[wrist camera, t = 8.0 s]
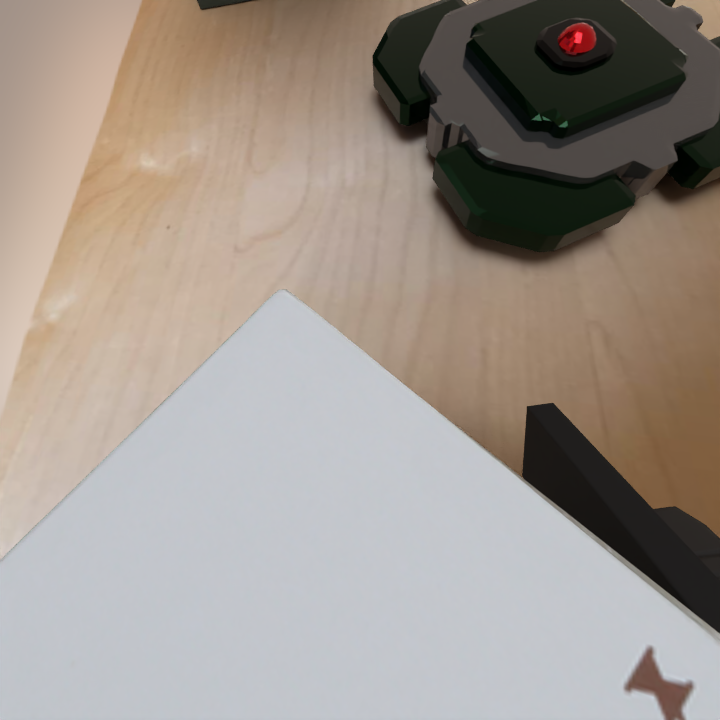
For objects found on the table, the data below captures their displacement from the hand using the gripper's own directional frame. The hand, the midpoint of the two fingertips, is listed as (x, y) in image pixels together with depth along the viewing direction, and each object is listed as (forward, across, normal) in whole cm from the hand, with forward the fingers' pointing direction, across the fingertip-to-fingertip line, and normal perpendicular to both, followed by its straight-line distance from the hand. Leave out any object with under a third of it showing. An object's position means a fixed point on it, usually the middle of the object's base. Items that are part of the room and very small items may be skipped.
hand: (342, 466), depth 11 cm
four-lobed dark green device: (+18, -14, -10) cm, 24 cm away
